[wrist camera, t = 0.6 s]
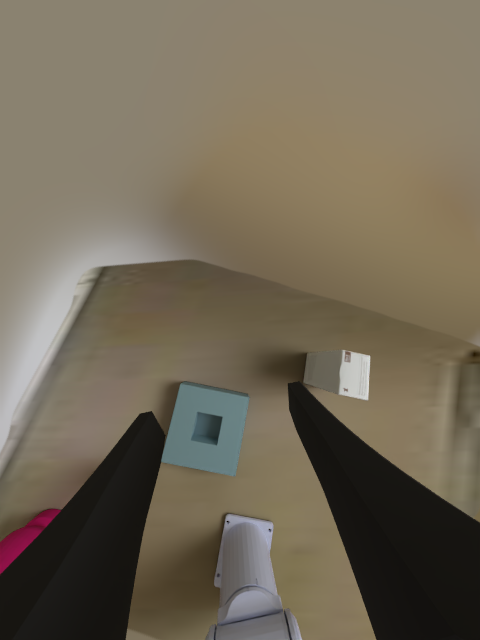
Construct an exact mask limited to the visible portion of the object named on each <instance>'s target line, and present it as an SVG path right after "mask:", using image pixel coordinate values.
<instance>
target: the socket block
mask: <svg viewBox="0 0 480 640" xmlns="http://www.w3.org/2000/svg"><path fill="white" fill-rule="evenodd" d="M248 403H249V396H248V394H246V393H241V392H236V391H231V390H226V389H221V388H216V387H211V386H206V385H202V384H197V383H192V382H187V381H184V382H183V383H181V384H180V388H179V392H178V396H177V400H176V404H175V408H174V412H173V416H172V420H171V424H170V428H169V432H168V435H167V439H166V443H165V447H164V451H163V455H162V460H161V462H164V463H169V464H174V465H179V466H184V467H189V468H194V469H200V470H205V471H210V472H215V473H220V474H225V475H230V476H235V475H236V470H237V464H238V459H239V453H240V447H241V442H242V436H243V431H244V425H245V419H246V414H247V408H248Z"/></svg>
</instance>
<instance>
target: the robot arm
mask: <svg viewBox="0 0 480 640" xmlns="http://www.w3.org/2000/svg"><path fill="white" fill-rule="evenodd" d="M288 395H289V410H290V413H291V416H292V419H293V422H294V425H295V428H296V430H297V433H298V435H299V437H300V439H301V441H302V444H303V446H304V448H305V450H306V452H307V455H308V457H309V459H310V461H311V463H312V466H313V468H314V470H315V472H316V474H317V477H318V479H319V481H320V483H321V486H322V488H323V491H324V493H325V496H326V498H327V501H328V504H329V506H330V509H331V512H332V514H333V517H334V520H335V523H336V525H337V528H338V531H339V534H340V536H341V539H342V542H343V545H344V547H345V550H346V553H347V556H348V558H349V561H350V564H351V567H352V570H353V573H354V576H355V578H356V581H357V584H358V587H359V590H360V593H361V595H362V598H363V601H364V604H365V607H366V610H367V613H368V616H369V619H370V622H371V625H372V628H373V631H374V634H375V637H376V639H377V640H480V522H478V521H476V520H475V519H473V518H472V517H470V516H469V515H467V514H466V513H464V512H462V511H461V510H459V509H458V508H456V507H455V506H453V505H452V504H450V503H449V502H447V501H445V500H444V499H442V498H441V497H439V496H438V495H436V494H435V493H434V492H432V491H431V490H429V489H428V488H426V487H425V486H423V485H422V484H421V483H419V482H418V481H416V480H415V479H413V478H412V477H410V476H409V475H407V474H406V473H405V472H403V471H402V470H400V469H399V468H398V467H396V466H395V465H394V464H392V463H391V462H390V461H388V460H387V459H386V458H384V457H383V456H382V455H380V454H379V453H378V452H376V451H375V450H374V449H373V448H371V447H370V446H369V445H367V444H366V443H365V442H364V441H362V440H361V439H360V438H359V437H358V436H356V435H355V434H354V433H353V432H352V431H351V430H349V429H348V428H347V427H346V426H345V425H344V424H343V423H341V422H340V421H339V420H338V419H337V418H336V417H335V416H334V415H333V414H332V413H331V412H330V411H328V410H327V409H326V408H325V407H324V406H323V405H322V404H321V403H320V402H319V401H318V400H317V399H316V398H315V397H314V396H313V395H312V394H311V393H310V392H309V391H308V390H307V388H306V387H305V386H304V385H303V384H302V383H301V382H300V381H298V382H293V383H288ZM164 441H165V434H164V432H163V430H162V429H161V427H160V425H159V423H158V421H157V420H156V418H155V416H154V414H153V413H152V411H151V412H146V413H141V414H139V416H138V417H137V418H136V419H135V421H134V422H133V423H132V424H131V426H130V427H129V428H128V430H127V431H126V432H125V434H124V435H123V436H122V438H121V439H120V440H119V441H118V443H117V444H116V445H115V447H114V448H113V449H112V450H111V452H110V453H109V454H108V455H107V457H106V458H105V459H104V461H103V462H102V463H101V464H100V465H99V467H98V468H97V469H96V470H95V472H94V473H93V474H92V475H91V476H90V478H89V479H88V480H87V481H86V482H85V484H84V485H83V486H82V487H81V488H80V490H79V491H78V492H77V493H76V494H75V495H74V497H73V498H72V499H71V500H70V501H69V502H68V503H67V505H66V506H65V507H64V508H63V509H62V510H61V511H60V512H59V513H58V515H57V516H56V517H55V518H54V519H53V520H52V521H51V522H50V523H49V524H48V525H47V527H46V528H45V529H44V530H43V531H42V532H41V533H40V534H39V535H38V536H37V537H36V538H35V539H34V540H33V541H32V542H31V543H30V544H29V545H28V546H27V547H26V548H25V549H24V551H23V552H22V553H21V554H20V555H19V556H18V557H17V558H16V559H15V560H14V561H13V562H12V563H11V564H10V565H9V566H8V567H7V568H6V569H5V570H4V571H3V572H2V573H1V574H0V640H126V633H127V626H128V619H129V612H130V605H131V599H132V593H133V587H134V581H135V575H136V569H137V563H138V558H139V552H140V547H141V542H142V536H143V531H144V527H145V522H146V518H147V514H148V510H149V507H150V503H151V499H152V495H153V491H154V488H155V484H156V480H157V476H158V472H159V468H160V464H161V460H162V455H163V449H164ZM227 521H229V522H227ZM269 529H271V530H269ZM272 533H273V523H272V522H271V521H266V520H260V519H255V518H250V517H245V516H239V515H234V514H227V515H226V518H225V523H224V529H223V534H222V540H221V545H220V551H219V556H218V562H217V567H216V573H215V579H214V585H215V587H219V588H220V603H219V609H218V620H217V626H216V624H214V625H211V626H210V629H209V632H208V634H207V636H206V639H205V640H302V639H301V635H300V631H299V627H298V624H297V620H296V618H295V617H294V615H293V614H292V613H291V611H290V609H289V608H287V609H284V613H283V608H282V603H281V598H280V596H279V595H278V594H277V589H276V584H275V579H274V574H273V569H272V564H271V559H270V548H271V540H272ZM218 573H219V575H218Z"/></svg>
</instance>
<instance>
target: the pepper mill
mask: <svg viewBox="0 0 480 640" xmlns="http://www.w3.org/2000/svg"><path fill="white" fill-rule="evenodd" d="M60 511H61V510H58V509H49V510H45V511H43V512H42V513H40V514H39V515H37V516H36V517H35V518H34V519H33V520H31V521H30V522H29V523H28V524H27V525H26V526H25V527H23V528H20V529H18V530H16V531H14V532H12V533H11V534H9V535H8V536H7V537H6V538H4V539H3V540H2V541H1V542H0V574H1V573H2V572H3V571H4V570H5V569H6V568H7V567H8V566H9V565H10V564H11V563H12V562H13V561H14V560H15V559H16V558H17V557H18V556H19V555H20V554H21V553H22V552H23V551H24V549H25V548H26V547H27V546H28V545H29V544H30V543H31V542H32V541H33V540H34V539H35V538H36V537H37V536H38V535H39V534H40V533H41V532H42V531H43V530H44V529H45V528H46V527H47V525H48V524H49V523H50V522H51V521H52V520H53V519H54V518H55V517H56V516H57V515H58V513H59V512H60Z"/></svg>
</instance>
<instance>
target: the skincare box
mask: <svg viewBox="0 0 480 640" xmlns="http://www.w3.org/2000/svg"><path fill="white" fill-rule="evenodd" d="M369 369H370V356H369V355H364V354H360V353H355V352H350V351H346V350H335V351H323V352H312V353H307V359H306V366H305V374H304V381H303V383H305V384H308V385H311V386H314V387H317V388H320V389H323V390H326V391H329V392H333V393H335V394H338V395H343V396H348V397H353V398H358V399H362V400H368V388H369Z"/></svg>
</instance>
